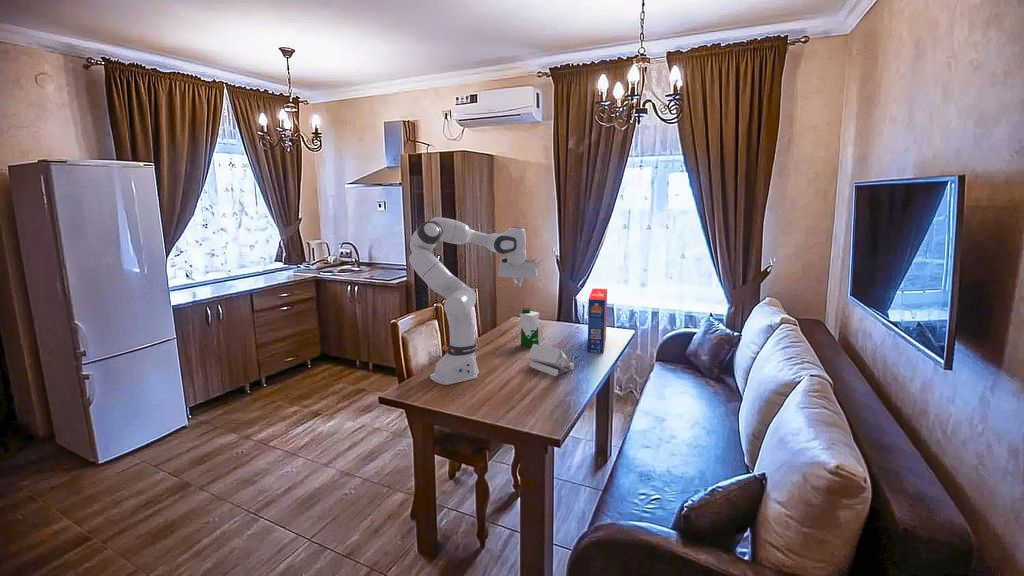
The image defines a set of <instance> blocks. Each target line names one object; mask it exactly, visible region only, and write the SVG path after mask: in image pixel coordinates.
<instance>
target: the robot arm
mask: <svg viewBox="0 0 1024 576" xmlns="http://www.w3.org/2000/svg"><path fill="white" fill-rule="evenodd" d="M440 241H441V242H445V243H449V244H453V245H464V244H467V243H470V244H473V245H478V246H480V247H481V246H482V247H484V248H485V249H486V250H487V251H489V252H490V253H496V254H499V255H506V254H508V255H507V256H504V257H501V258H500V259H499V264H498V269H497V275H498V277H499V278H512V281H513V283H514V287H522V283H523V281H524V279H537V278H538V276H539V274H538V273H539V272H538V267H539V263H538V261H537V260H535V259H529V258H527V250H526V249H527V234H526V231H525V229H524V228H522V227H516V226H511V227H509V228H508V229H507V230H506V231H504V232H501V233H498V232H488V233H484V232H481V231H477V230H474V229H471V228H470V227H469V225H467V224H466V223H464V222H461V221H459V220H456V219H452V218H447V217H439V216H438V217H436V216H435V217H433V218H431V219H430V220H427V221H424V222H422V223H421V224H420V225H418V228H417V229H416V230H415V231H414V232H413V233H412V235H411V237H410V239H409V241H408V246H407V249H408V252H409V253H410V256H409V258H408V261H409V264H410V265H411V267H412V269H413V270H414V271H415V272H416V274H417V276H419V277H420V279H422V280H423V282H424V283H425V284H426V285H427V286H428V287H429V288H430V289H431V290H432V291H433V292H435V293H437V294H439V295H440V296H441V297H444V299H445V302H444V304H443V309H444V310H443V311H444V312H445V314H446V319H447V323H448V327H449V328H448V329H449V344H448V346H447V345H443V346H442V350H443V351H446V353H445V354H444V355H443V357H441V359H439V361H438V362H436V364H435V368H434V372H433V373H431V374H430V375H429V379H430V380H432V381H433V382H435V383H437V384H440V385H445V386H448V385H454V384H456V383H457V384H458V383H462V382H466V381H471V380H475V379H477V378H478V374H479V373H480V370H479V368H478V364H477V358H476V351H477V348H476V347H477V346H476V342H475V325H474V324H473V323H474V322H473V318H472V313H471V312H472V309H473V308H474V306H475V305H476V302H477V294H476V291H475V290H474V289H473V288H472V287H469V286H468V285H466V284H465V283H464V282H463V281H462V280H460V279H459V278H458V277H456V276H455V275H454V274H452V273H451V272H450V270H449V269H448V268H447V267H446V266H445V265H444V264H443V263H442V262H441V261H440V260H439V259H438V258H437V257H436V256H435V255H434V253H433V250H434V249H435V247H436V246H437V244H438V242H440ZM517 279H519V280H520V281H517Z"/></svg>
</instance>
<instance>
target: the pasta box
mask: <svg viewBox="0 0 1024 576" xmlns="http://www.w3.org/2000/svg"><path fill="white" fill-rule="evenodd" d="M589 294H590V295H589V296H588V304H587V305H588V307H587V308H588V309H587V311H588V312H587V313H588V316H587V318H588V320H587V354H589V353H592V354H604V352H605V346H606V340H607V313H608V312H607V310H608V308H607V307H608V289H607V288H592V290H591V291H590V293H589Z"/></svg>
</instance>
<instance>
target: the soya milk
mask: <svg viewBox="0 0 1024 576" xmlns="http://www.w3.org/2000/svg"><path fill="white" fill-rule="evenodd" d="M519 318H520V347H525V348H528V349H531V348H532V345H533V344H536V345H540V344H539V343H540V342H539V318H540V312H536V311H531V308H529V307H522V312H520V313H519Z"/></svg>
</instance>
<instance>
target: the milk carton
mask: <svg viewBox="0 0 1024 576" xmlns="http://www.w3.org/2000/svg"><path fill="white" fill-rule="evenodd" d="M528 353H529V354H528V356H527V359H528V360H530V362H531V361H535V362H537V363H540V364H543V365H546V366H549V367H553V368H557V369H562V368H564V367H565V366H567V365H568V364H571V363H572V362H571V361H569V360H568V358H567V355H566V354H565V353H564V352H563V351H562V349H560V348H556V347H550V346H545V345H540V344H539V345H536V344H533V345H532V348H530V351H529V352H528Z"/></svg>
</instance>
